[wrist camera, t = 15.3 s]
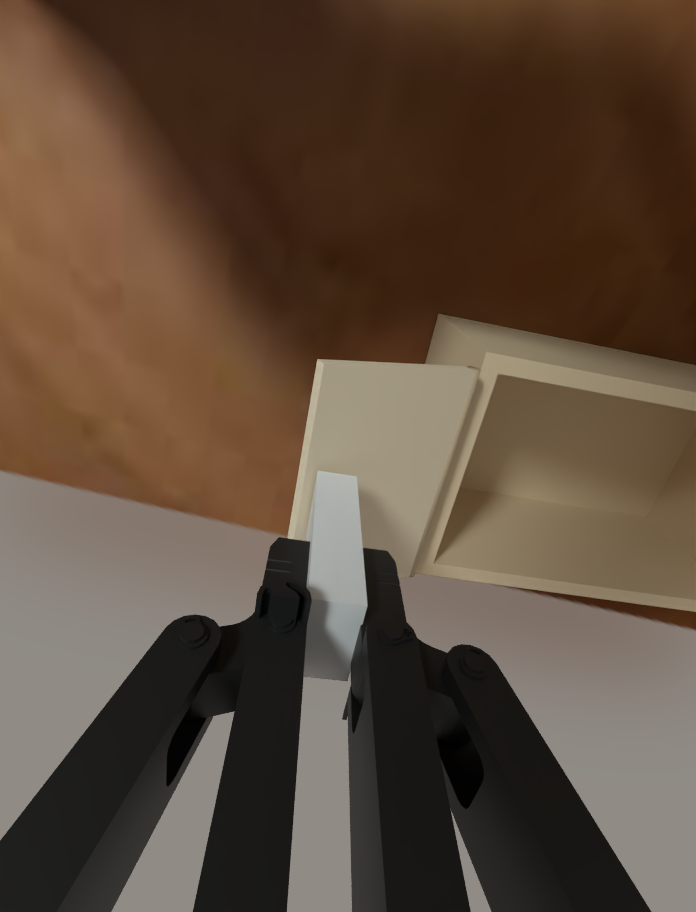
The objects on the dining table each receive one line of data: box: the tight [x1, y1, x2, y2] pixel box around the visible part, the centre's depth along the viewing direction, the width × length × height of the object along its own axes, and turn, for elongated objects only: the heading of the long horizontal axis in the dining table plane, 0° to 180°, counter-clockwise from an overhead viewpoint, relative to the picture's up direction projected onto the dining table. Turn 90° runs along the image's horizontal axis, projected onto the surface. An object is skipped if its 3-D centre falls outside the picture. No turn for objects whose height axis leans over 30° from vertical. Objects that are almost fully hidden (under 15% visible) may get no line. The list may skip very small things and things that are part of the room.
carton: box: [415, 314, 696, 612], centre depth 28 cm, size 20×12×10 cm, turn 79°
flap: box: [288, 359, 481, 579], centre depth 20 cm, size 1×11×7 cm
